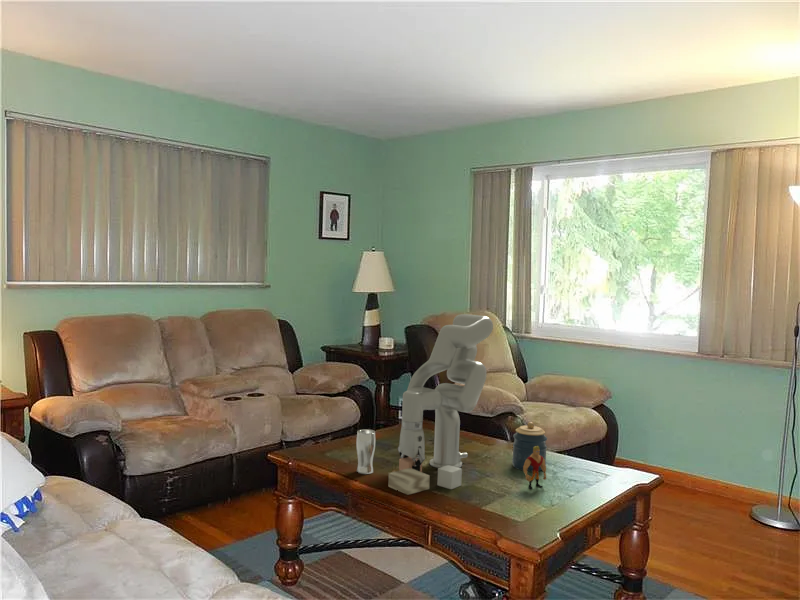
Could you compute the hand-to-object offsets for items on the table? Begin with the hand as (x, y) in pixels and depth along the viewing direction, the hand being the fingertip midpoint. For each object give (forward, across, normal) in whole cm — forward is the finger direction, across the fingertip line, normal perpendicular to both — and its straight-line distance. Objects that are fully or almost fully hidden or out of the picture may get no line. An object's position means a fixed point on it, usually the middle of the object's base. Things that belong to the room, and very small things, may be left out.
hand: (410, 473), depth 233 cm
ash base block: (+1, -10, +8) cm, 13 cm away
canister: (+1, -14, -47) cm, 49 cm away
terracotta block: (+1, 0, 0) cm, 1 cm away
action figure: (+1, -32, -31) cm, 45 cm away
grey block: (+1, -15, -6) cm, 16 cm away
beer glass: (+1, +12, +12) cm, 17 cm away
